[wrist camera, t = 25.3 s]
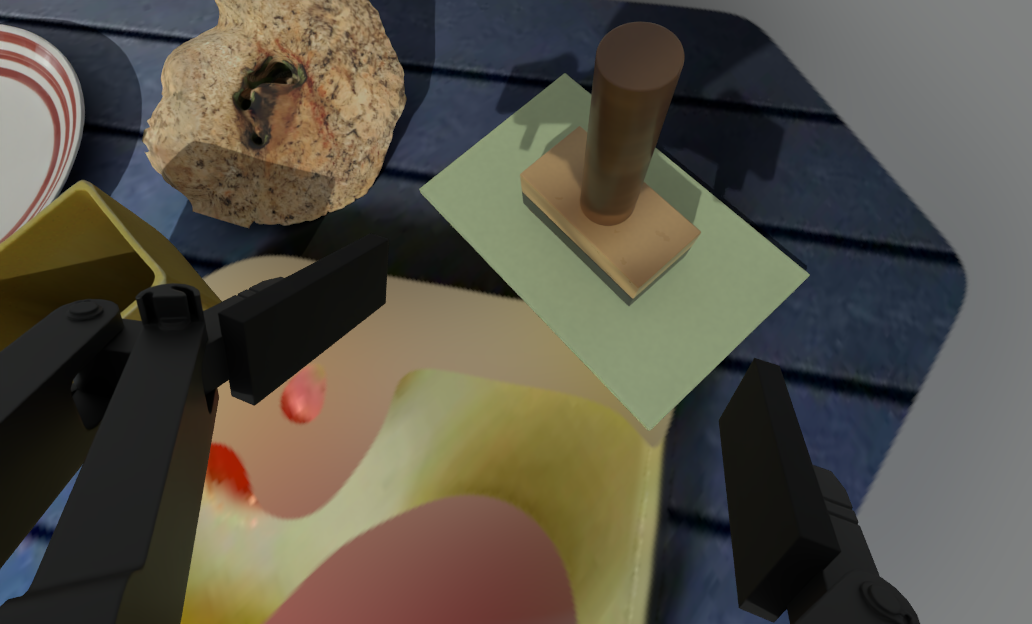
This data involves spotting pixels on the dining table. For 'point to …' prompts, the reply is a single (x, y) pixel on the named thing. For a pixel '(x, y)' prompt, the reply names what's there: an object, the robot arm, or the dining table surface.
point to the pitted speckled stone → (278, 110)
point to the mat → (583, 295)
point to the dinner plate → (35, 125)
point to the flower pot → (85, 261)
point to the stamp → (617, 167)
